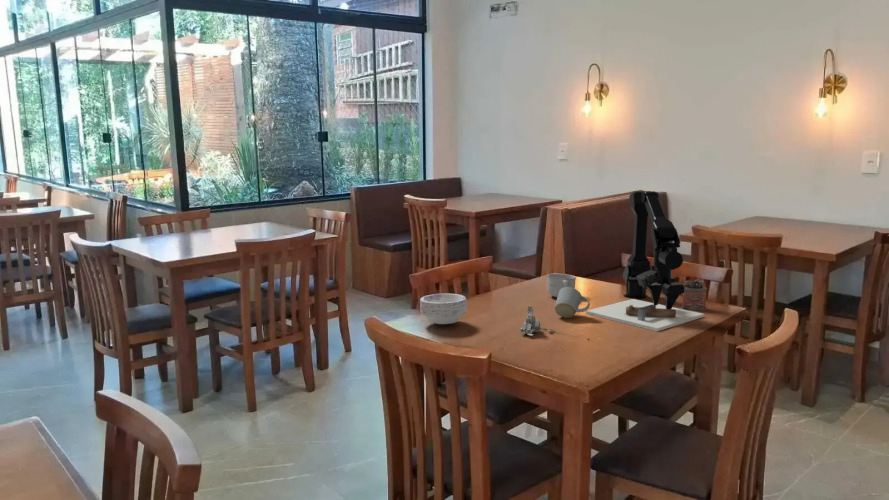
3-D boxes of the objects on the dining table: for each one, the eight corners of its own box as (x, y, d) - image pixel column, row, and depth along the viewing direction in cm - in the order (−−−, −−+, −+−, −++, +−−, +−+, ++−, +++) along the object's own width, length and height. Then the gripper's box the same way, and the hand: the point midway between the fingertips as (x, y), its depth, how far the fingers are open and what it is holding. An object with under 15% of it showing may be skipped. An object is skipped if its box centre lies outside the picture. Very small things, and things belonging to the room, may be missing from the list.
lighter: (704, 307, 234) (705, 279, 233) (707, 310, 231) (708, 281, 229) (680, 307, 235) (681, 279, 233) (682, 309, 232) (684, 281, 230)
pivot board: (586, 313, 228) (586, 310, 228) (632, 301, 244) (633, 298, 244) (657, 331, 207) (657, 327, 206) (703, 316, 222) (703, 313, 222)
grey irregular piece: (544, 337, 203) (544, 312, 202) (517, 333, 208) (517, 309, 206) (554, 329, 211) (554, 306, 210) (528, 326, 215) (528, 303, 214)
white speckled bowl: (433, 313, 232) (433, 290, 231) (473, 317, 226) (473, 294, 224) (412, 324, 219) (411, 300, 217) (454, 329, 212) (454, 305, 211)
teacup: (546, 292, 260) (546, 272, 259) (574, 293, 259) (575, 272, 257) (546, 301, 247) (547, 279, 245) (576, 301, 245) (577, 280, 244)
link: (625, 314, 221) (625, 306, 221) (625, 312, 224) (626, 304, 224) (675, 317, 217) (676, 309, 216) (675, 314, 220) (675, 306, 219)
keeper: (637, 319, 216) (638, 308, 216) (651, 315, 221) (651, 304, 220) (641, 320, 215) (642, 309, 214) (655, 316, 220) (656, 305, 219)
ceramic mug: (561, 321, 225) (548, 305, 222) (567, 304, 230) (555, 288, 228) (588, 315, 218) (575, 298, 215) (593, 297, 224) (581, 281, 221)
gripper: (627, 259, 229) (626, 303, 232) (654, 270, 211) (653, 318, 214) (657, 257, 232) (656, 300, 234) (686, 267, 214) (685, 315, 216)
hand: (661, 308), depth 225 cm, fingers open, 8 cm apart
